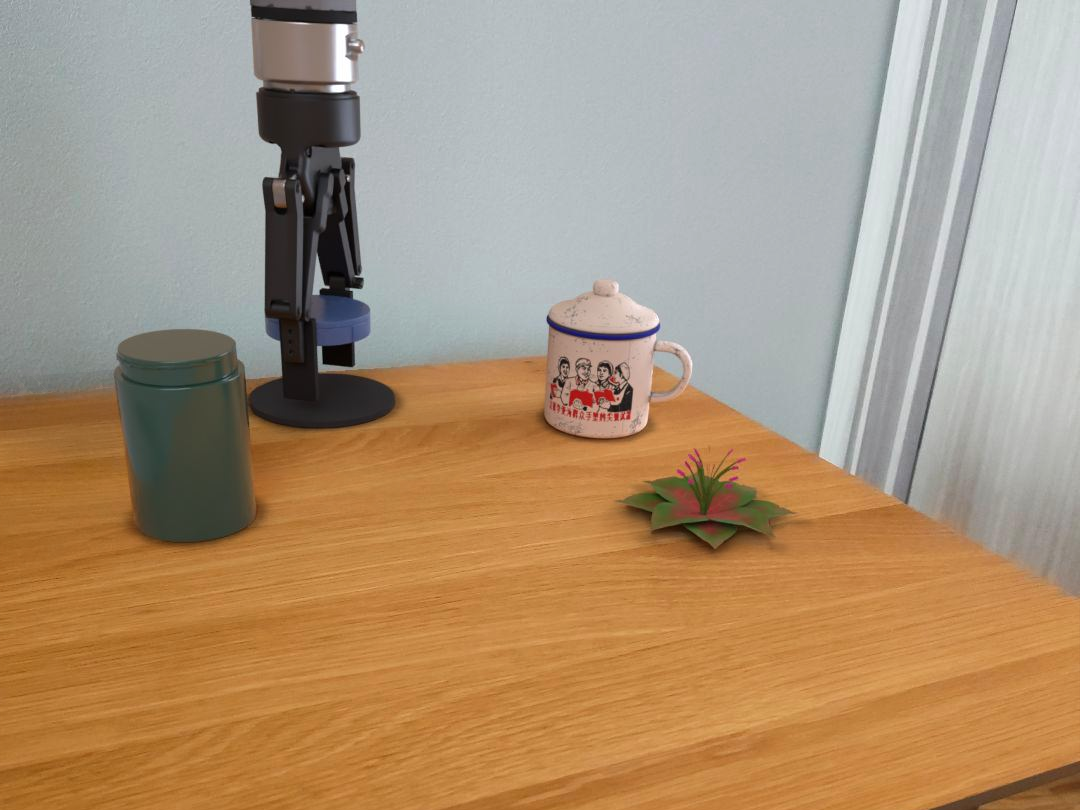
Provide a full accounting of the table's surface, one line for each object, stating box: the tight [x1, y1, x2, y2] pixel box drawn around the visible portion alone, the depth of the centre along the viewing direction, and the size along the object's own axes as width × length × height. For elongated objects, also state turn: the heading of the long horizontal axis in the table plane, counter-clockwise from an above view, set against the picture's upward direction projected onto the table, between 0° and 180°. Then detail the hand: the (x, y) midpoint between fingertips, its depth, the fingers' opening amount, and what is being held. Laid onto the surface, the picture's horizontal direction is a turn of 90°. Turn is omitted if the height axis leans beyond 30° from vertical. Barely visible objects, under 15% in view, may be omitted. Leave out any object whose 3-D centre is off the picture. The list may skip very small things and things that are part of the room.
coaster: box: [248, 372, 396, 429], centre depth 89 cm, size 12×12×1 cm
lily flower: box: [613, 446, 799, 550], centre depth 72 cm, size 12×12×5 cm
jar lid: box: [263, 294, 372, 347], centre depth 86 cm, size 8×8×2 cm
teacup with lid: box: [543, 278, 693, 439], centre depth 85 cm, size 12×9×12 cm
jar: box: [113, 328, 257, 543], centre depth 66 cm, size 8×8×12 cm
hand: (320, 380), depth 88 cm, fingers closed on jar lid, 8 cm apart
